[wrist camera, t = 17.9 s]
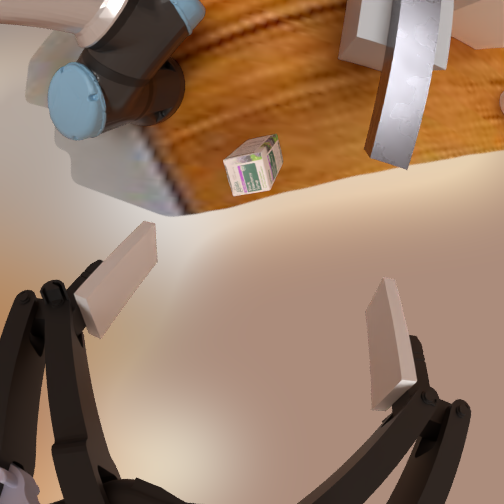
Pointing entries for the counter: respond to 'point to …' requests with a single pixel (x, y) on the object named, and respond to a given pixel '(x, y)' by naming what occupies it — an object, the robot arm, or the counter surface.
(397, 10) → the handle rail
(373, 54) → the tall grey pillar block
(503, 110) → the white cup
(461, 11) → the cabinet block
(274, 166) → the syrup box
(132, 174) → the counter surface
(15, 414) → the robot arm
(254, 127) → the counter surface
